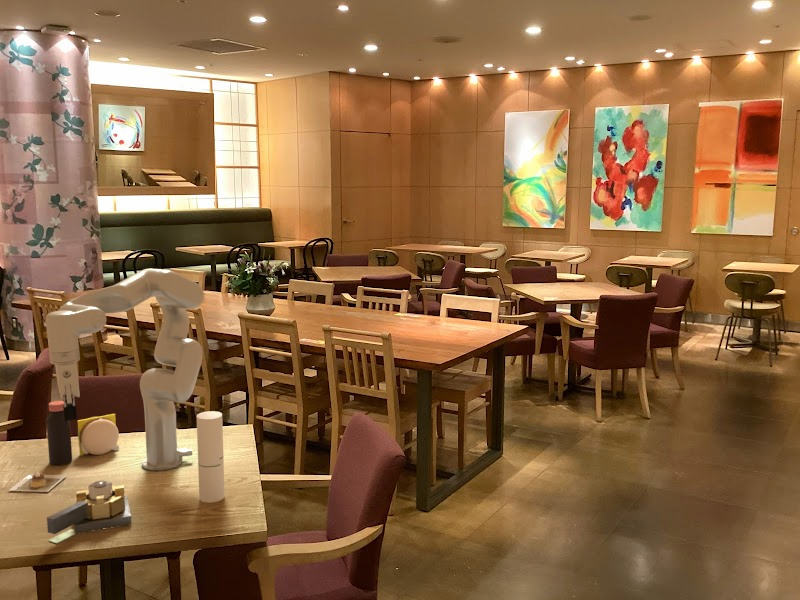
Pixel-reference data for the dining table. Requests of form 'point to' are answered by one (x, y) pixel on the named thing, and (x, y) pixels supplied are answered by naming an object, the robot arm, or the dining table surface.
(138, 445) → the dining table surface
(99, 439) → the hamburger
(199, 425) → the cylindrical container
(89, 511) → the ring nut
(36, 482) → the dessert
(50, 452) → the bottle
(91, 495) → the housing
